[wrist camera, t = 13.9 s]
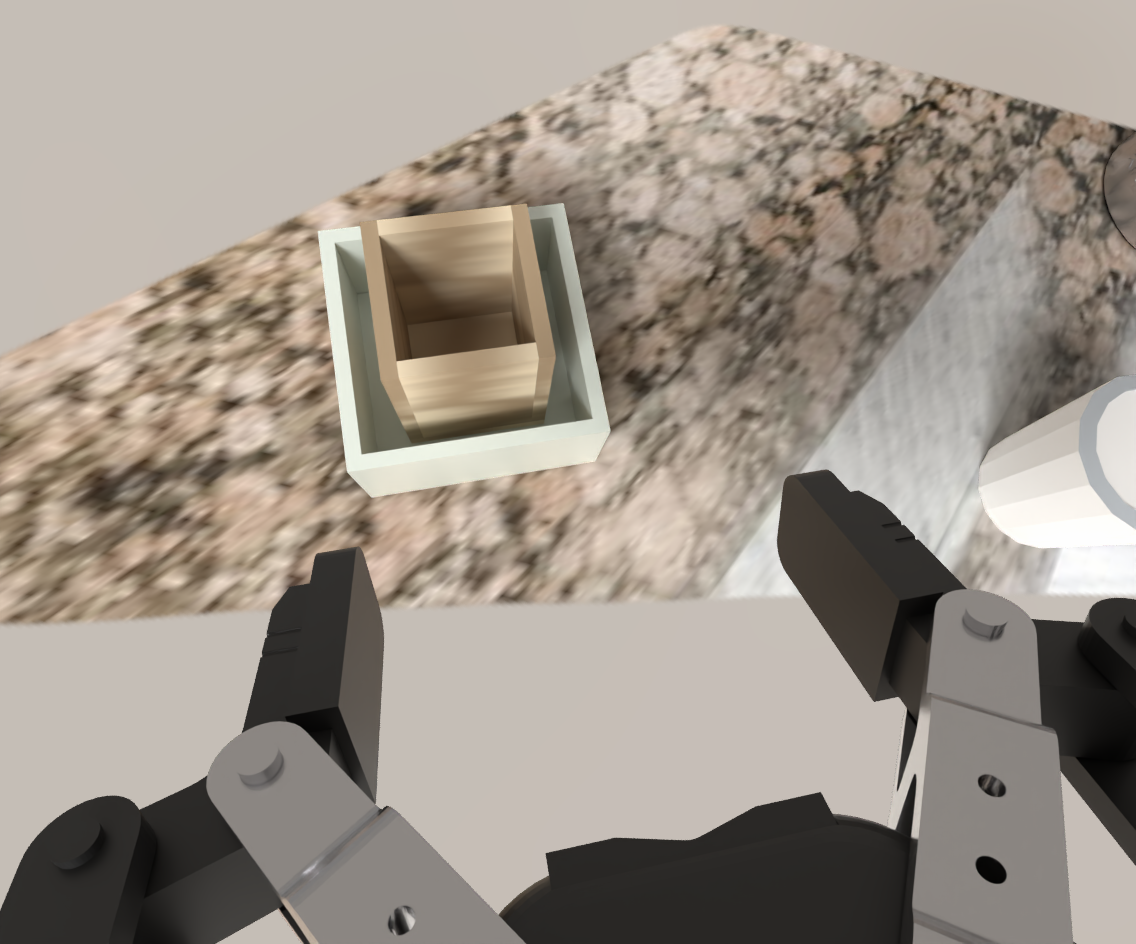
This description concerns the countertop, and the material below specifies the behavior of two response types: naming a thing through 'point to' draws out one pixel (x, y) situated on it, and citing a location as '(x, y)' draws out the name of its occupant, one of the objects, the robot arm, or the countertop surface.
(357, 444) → the sage crate
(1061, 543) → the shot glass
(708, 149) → the countertop surface
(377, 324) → the birch crate
